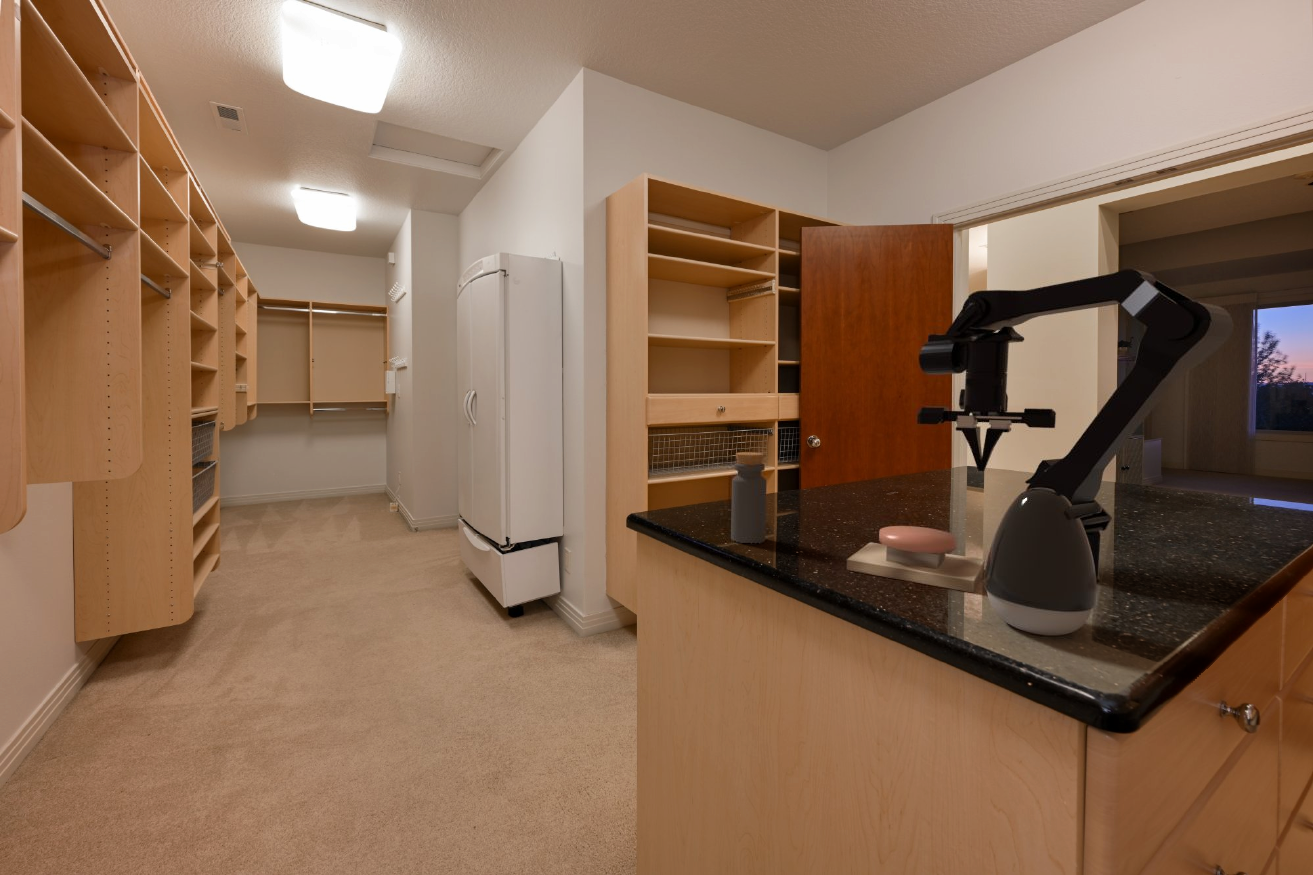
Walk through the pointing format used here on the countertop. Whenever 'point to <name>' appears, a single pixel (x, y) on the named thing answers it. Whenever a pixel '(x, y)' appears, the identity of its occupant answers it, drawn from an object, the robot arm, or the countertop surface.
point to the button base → (918, 566)
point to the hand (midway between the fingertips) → (981, 470)
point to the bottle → (748, 499)
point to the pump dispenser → (1042, 564)
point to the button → (917, 539)
